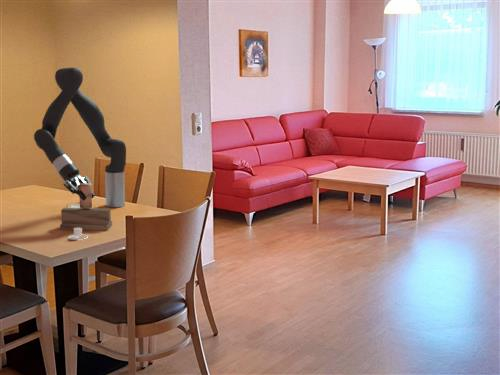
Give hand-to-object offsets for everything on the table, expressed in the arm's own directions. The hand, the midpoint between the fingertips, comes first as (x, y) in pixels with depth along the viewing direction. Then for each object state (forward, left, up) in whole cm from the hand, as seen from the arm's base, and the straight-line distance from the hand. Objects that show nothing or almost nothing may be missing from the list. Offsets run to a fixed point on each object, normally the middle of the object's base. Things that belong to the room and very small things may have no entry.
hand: (89, 198), depth 262 cm
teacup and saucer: (+16, -4, -14) cm, 22 cm away
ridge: (-1, -2, -13) cm, 13 cm away
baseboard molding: (-26, -12, -14) cm, 32 cm away
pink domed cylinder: (-1, -2, -4) cm, 5 cm away
